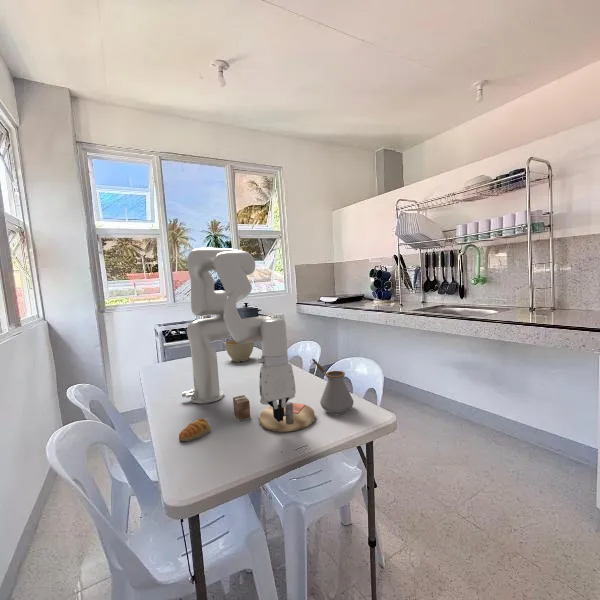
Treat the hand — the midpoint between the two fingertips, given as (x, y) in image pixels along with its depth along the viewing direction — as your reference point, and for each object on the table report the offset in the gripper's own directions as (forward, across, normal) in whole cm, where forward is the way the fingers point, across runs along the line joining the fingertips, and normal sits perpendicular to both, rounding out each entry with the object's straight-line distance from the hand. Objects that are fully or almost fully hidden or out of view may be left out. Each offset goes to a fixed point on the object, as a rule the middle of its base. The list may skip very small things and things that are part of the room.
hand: (279, 419), depth 97 cm
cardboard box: (+4, -7, +18) cm, 19 cm away
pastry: (+4, -23, +12) cm, 26 cm away
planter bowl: (+4, +11, +91) cm, 92 cm away
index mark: (+4, +5, +18) cm, 19 cm away
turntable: (+4, +5, +7) cm, 10 cm away
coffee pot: (+4, +22, +10) cm, 25 cm away
